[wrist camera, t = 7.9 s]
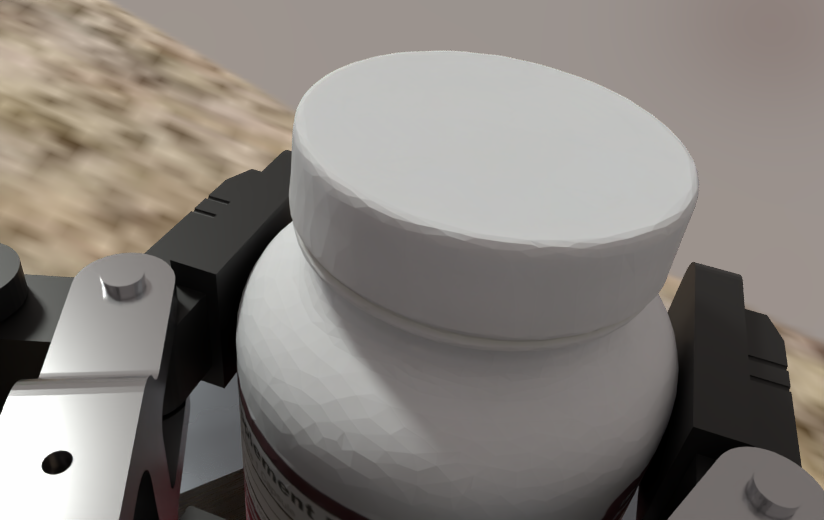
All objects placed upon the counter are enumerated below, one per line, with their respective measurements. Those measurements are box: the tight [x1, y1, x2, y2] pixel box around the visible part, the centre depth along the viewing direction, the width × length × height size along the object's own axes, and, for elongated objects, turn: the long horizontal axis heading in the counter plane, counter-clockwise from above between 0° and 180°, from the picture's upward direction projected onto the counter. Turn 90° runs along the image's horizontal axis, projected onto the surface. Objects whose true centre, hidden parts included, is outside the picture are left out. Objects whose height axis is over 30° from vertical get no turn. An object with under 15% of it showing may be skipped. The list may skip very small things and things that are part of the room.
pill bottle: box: [236, 51, 699, 520], centre depth 12 cm, size 6×6×11 cm
